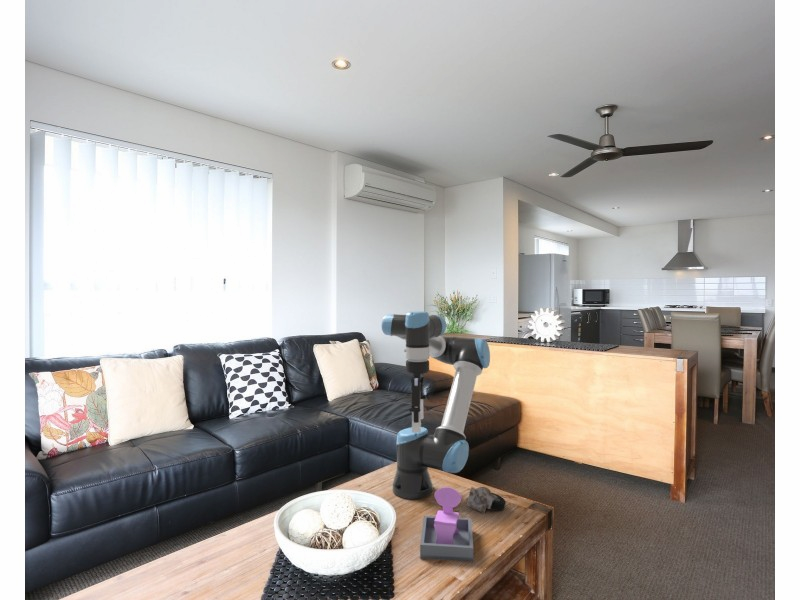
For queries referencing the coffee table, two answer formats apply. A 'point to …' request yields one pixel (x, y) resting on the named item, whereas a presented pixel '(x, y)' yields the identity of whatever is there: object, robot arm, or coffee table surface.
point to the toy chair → (446, 515)
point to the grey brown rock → (485, 500)
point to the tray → (455, 552)
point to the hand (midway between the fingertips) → (417, 425)
